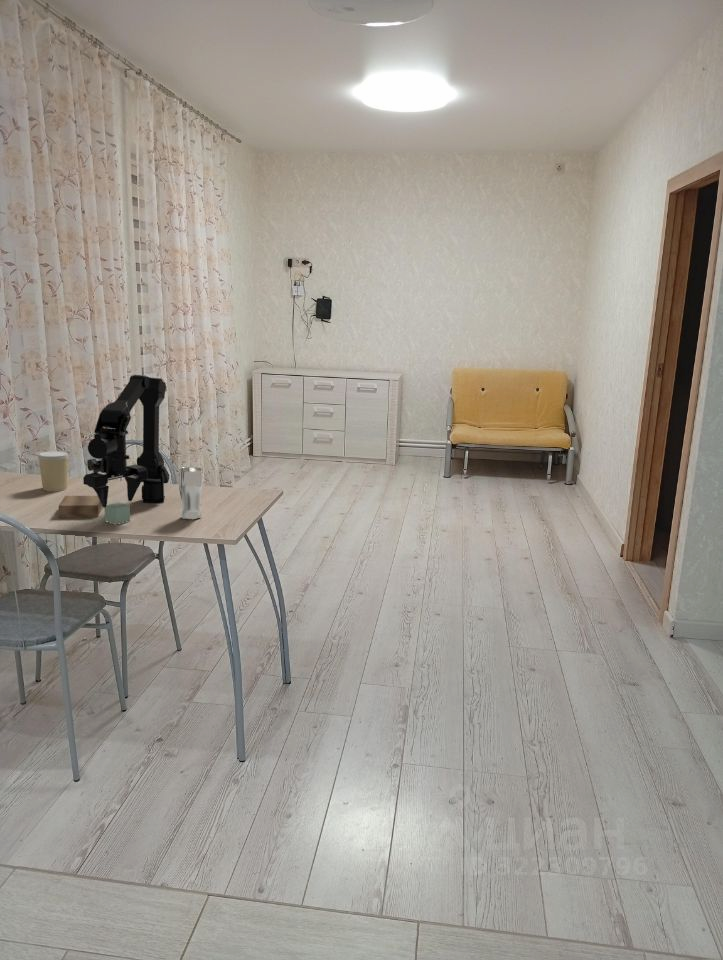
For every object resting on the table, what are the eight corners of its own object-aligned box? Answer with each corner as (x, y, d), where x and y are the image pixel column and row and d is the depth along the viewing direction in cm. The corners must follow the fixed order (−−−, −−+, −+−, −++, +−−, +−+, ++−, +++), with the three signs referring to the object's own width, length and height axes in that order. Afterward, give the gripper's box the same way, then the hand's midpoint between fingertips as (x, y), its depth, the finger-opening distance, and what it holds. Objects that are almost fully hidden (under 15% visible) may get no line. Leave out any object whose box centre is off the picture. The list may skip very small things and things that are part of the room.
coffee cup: (73, 485, 258) (72, 451, 255) (64, 492, 248) (63, 457, 246) (46, 484, 257) (44, 450, 254) (35, 491, 248) (33, 456, 245)
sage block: (119, 518, 224) (118, 502, 223) (130, 521, 221) (129, 505, 220) (105, 521, 220) (104, 505, 219) (116, 525, 217) (115, 508, 216)
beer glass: (202, 520, 225) (202, 471, 222) (178, 520, 224) (177, 471, 220) (203, 514, 232) (203, 466, 228) (180, 514, 231) (179, 466, 227)
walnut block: (103, 508, 235) (102, 495, 234) (98, 518, 224) (97, 505, 223) (65, 508, 232) (65, 495, 232) (59, 518, 222) (58, 505, 221)
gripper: (123, 443, 228) (124, 493, 231) (69, 452, 212) (72, 505, 216) (148, 448, 222) (149, 499, 226) (95, 458, 207) (97, 512, 210)
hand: (117, 504), depth 220 cm, fingers open, 9 cm apart
